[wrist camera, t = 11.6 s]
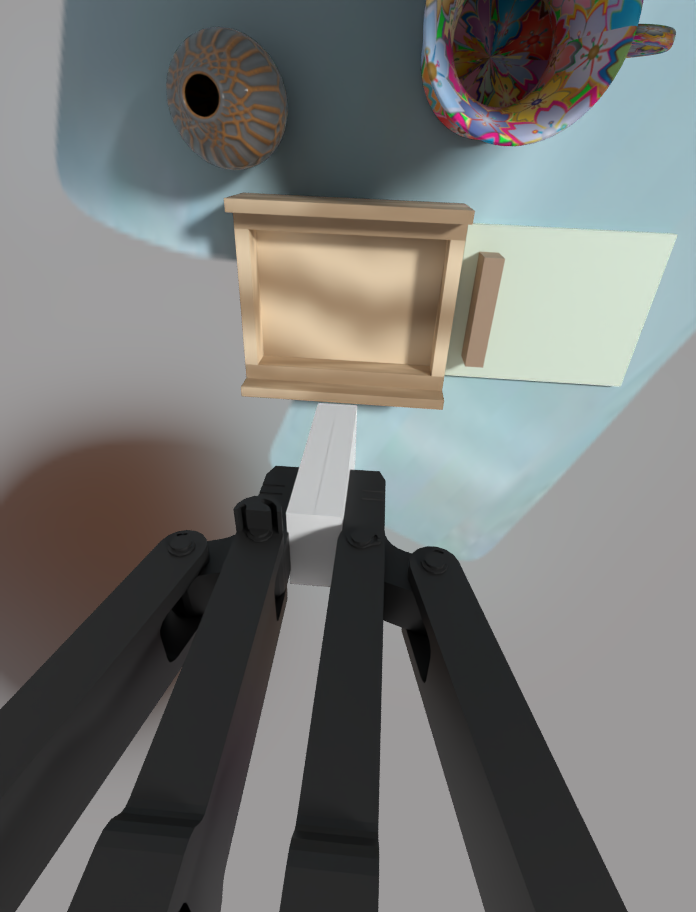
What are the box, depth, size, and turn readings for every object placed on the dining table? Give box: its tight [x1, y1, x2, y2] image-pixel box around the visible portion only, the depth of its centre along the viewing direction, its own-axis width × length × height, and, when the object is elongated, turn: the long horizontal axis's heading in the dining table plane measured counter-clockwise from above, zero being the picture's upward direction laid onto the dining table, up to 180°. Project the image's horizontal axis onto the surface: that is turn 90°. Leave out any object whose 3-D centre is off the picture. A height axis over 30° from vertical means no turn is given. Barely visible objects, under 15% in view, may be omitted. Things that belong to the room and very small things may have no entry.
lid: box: [444, 223, 677, 387], centre depth 37 cm, size 12×15×4 cm
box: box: [224, 193, 475, 410], centre depth 36 cm, size 14×16×5 cm
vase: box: [166, 27, 288, 170], centre depth 28 cm, size 7×7×9 cm
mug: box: [421, 0, 676, 146], centre depth 25 cm, size 12×9×11 cm
